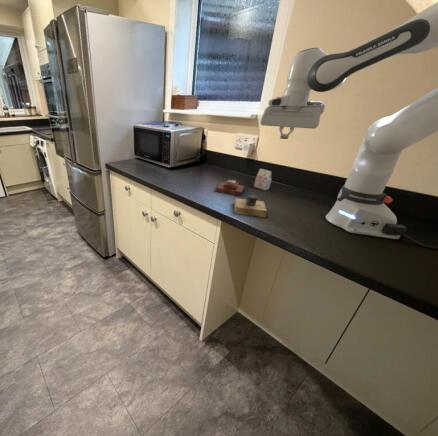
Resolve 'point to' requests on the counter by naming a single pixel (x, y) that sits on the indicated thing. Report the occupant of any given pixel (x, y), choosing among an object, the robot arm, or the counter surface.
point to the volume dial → (251, 200)
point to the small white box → (263, 179)
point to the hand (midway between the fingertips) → (283, 138)
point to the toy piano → (230, 188)
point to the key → (231, 182)
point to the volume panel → (250, 208)
